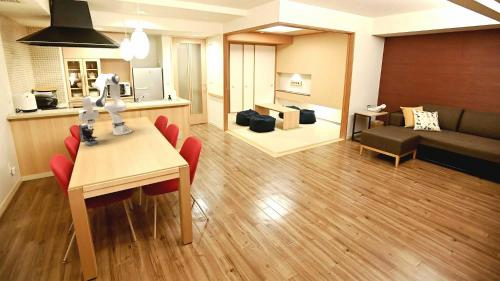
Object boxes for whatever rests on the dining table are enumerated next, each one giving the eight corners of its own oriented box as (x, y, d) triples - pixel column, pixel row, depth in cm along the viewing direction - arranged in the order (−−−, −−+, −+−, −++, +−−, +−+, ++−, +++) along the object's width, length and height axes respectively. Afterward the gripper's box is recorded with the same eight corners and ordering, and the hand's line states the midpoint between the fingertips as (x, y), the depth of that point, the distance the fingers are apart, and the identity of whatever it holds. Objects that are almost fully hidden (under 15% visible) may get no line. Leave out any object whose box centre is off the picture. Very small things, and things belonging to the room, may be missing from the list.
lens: (92, 126, 289) (90, 119, 287) (94, 126, 286) (93, 119, 284) (87, 127, 285) (86, 119, 283) (90, 127, 282) (88, 120, 280)
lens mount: (93, 142, 295) (92, 138, 294) (98, 143, 291) (97, 140, 290) (85, 144, 288) (84, 141, 287) (90, 145, 284) (89, 142, 282)
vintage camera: (92, 143, 295) (90, 125, 289) (80, 141, 298) (78, 124, 292) (99, 140, 304) (96, 123, 298) (87, 139, 307) (84, 122, 301)
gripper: (96, 109, 291) (98, 121, 295) (76, 112, 274) (79, 125, 278) (99, 109, 288) (101, 122, 292) (80, 112, 271) (82, 125, 275)
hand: (90, 123), depth 285 cm, fingers closed on lens, 5 cm apart
